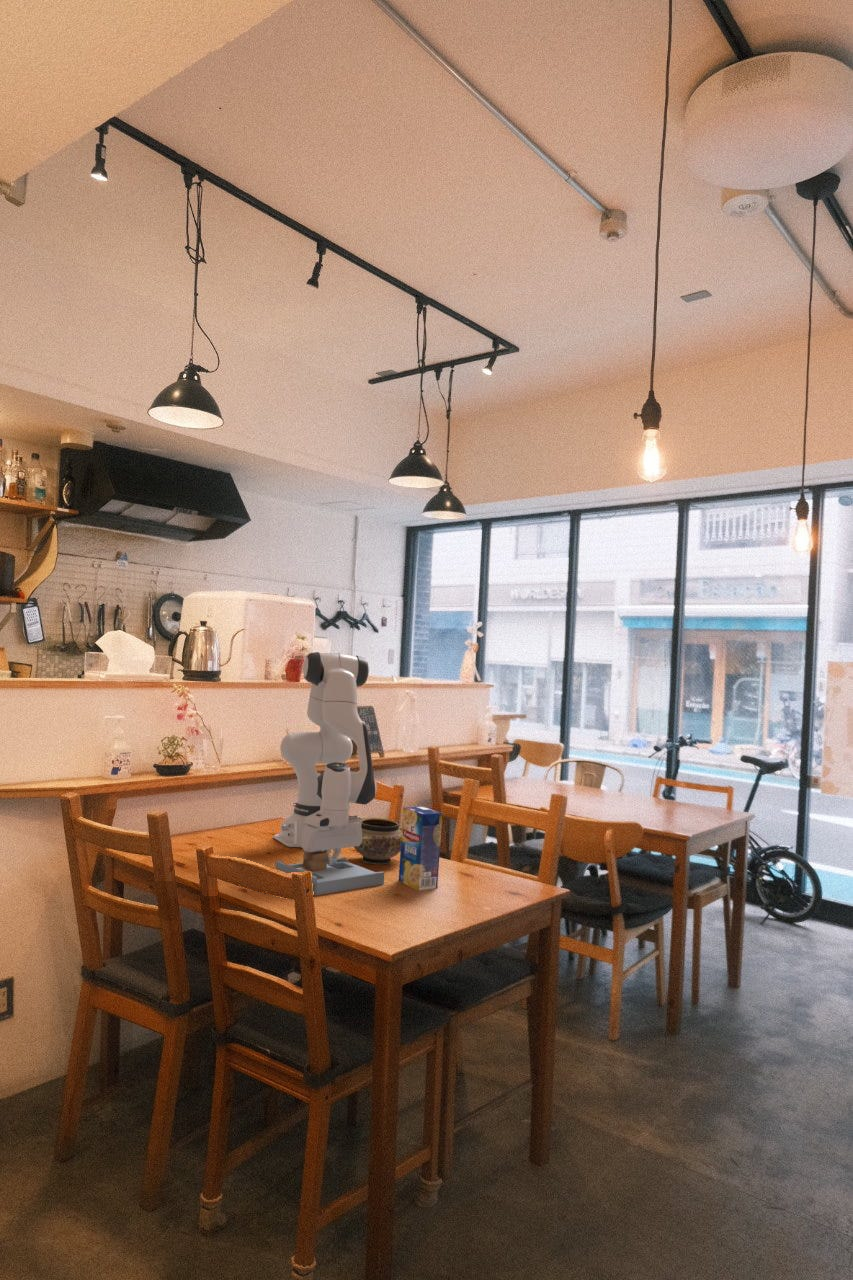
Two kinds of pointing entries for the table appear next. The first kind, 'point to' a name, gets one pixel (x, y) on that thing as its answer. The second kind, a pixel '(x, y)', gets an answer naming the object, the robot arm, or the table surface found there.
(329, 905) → the table surface
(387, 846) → the ceramic bowl
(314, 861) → the block
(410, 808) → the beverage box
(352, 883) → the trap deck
